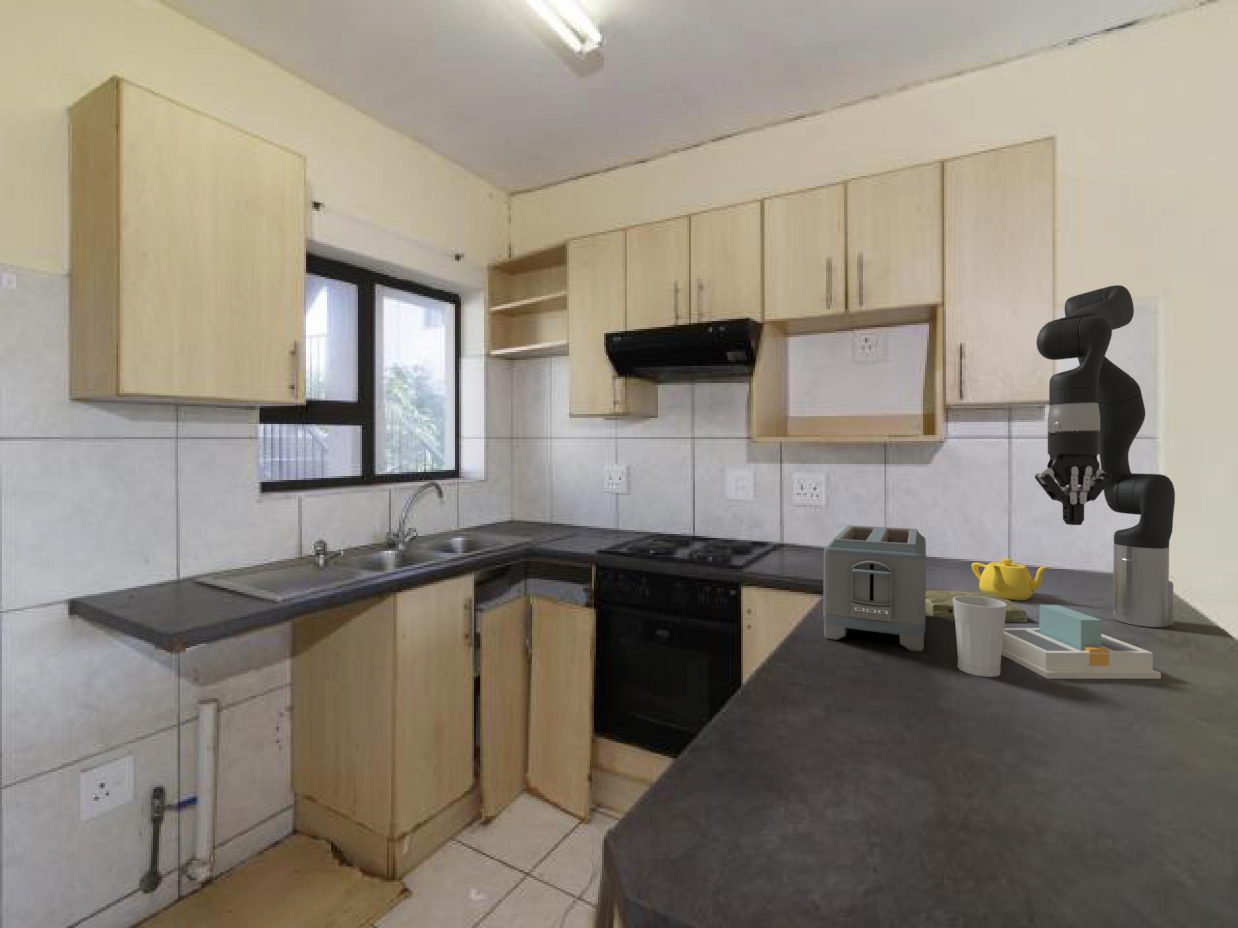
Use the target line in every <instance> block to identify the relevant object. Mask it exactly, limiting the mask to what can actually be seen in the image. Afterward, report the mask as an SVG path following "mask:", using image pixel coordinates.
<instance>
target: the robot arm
mask: <svg viewBox="0 0 1238 928" xmlns="http://www.w3.org/2000/svg"><path fill="white" fill-rule="evenodd" d="M1134 313H1135V308H1134V301H1133V297H1132V295H1131V292H1130V290H1128V288H1127V287H1125V286H1123V285H1121V284H1120V285H1118V284H1116V285H1109V286H1106V287H1103V288H1097V289H1093V290H1090V291H1087V292H1083V293H1080V294H1077V295H1073V296H1071V297H1068V298H1067V299H1066V301H1065V302H1064V316H1065V317H1061V318H1056V319H1054V320H1053V319H1052V320H1051V321H1049V322H1047V323H1046V324H1044V325H1043V326H1042V328H1041V329H1040V330H1039V332H1038V334H1037V336H1036V349H1037V351H1038V352H1039V354H1040V355H1041V356H1042V357H1043V358H1044V359H1047V360H1051V361H1058V360H1068V359H1069V360H1070V359H1077V360H1078V364H1079V365H1078V366H1077V367H1075V368H1072V369H1069V370H1065V371H1061V372H1058V373H1054V374H1053V375H1051V377H1050V379H1049V387H1048V389H1049V391H1048V393H1049V396H1048V397H1049V398H1048V399H1049V401H1048V402H1049V403H1048V405H1049V407H1048V413H1047V454H1048V456H1049V460H1048V462H1047V465H1046V467H1047V468H1046V469H1045V470H1044V471H1042V472H1041V473H1036V474H1035V475H1034V479H1035V480H1036V482H1037V483H1038V484H1039V485H1040V487H1042V489H1043V490H1044V491H1045V493H1046V494H1047V495H1048V497H1049V498H1050V499H1051V500H1052V501H1057V502H1059V503H1061V504H1062V520H1063V522H1064V524H1066V525H1069V526H1082V524H1083V522H1084V520H1085V504H1087V503H1088V502H1090V501H1092V502H1093V501H1094V502H1095V500H1096V499H1097V498H1098V497H1099V496H1100V495H1101V493H1102V492H1103V495H1104V499H1105V501H1106V504H1107V506H1108V507H1109V508H1110V509H1111V511H1113V512H1115V513H1119V514H1128V515H1129V514H1130V515H1139V516H1140V517H1139V521H1138V523H1137V524H1135V525H1134V526H1131V527H1128V528H1122V529H1117V530H1116V531H1115V532H1114V533H1113V569H1112V570H1113V578H1112V579H1113V581H1112V583H1113V586H1112V587H1113V590H1112V618H1113V619H1114V620H1115V621H1118V622H1121V623H1124V624H1129V625H1134V626H1139V627H1140V626H1141V627H1149V628H1166V627H1168V626H1173V625H1174V621H1173V620H1174V619H1173V618H1174V614H1173V613H1174V583H1173V581H1171V580H1170V578H1169V577H1170V576H1169V575H1170V540H1171V536H1172V533H1173V528H1174V524H1173V523H1174V512H1175V504H1176V503H1175V502H1176V501H1175V500H1176V493H1175V492H1176V491H1175V487H1174V484H1173V482H1172V480H1171V479H1170V477H1168V476H1167V475H1164V474H1161V473H1160V474H1159V473H1133V472H1132V471H1131V468H1130V462H1129V454H1130V453H1129V452H1130V449H1131V447H1132V444H1133V442H1134V440H1135V438H1136V437H1137V435H1138V433H1139V432H1140V430H1141V429H1142V426H1143V425H1144V422H1145V418H1146V408H1145V407H1146V406H1145V403H1144V397H1143V394H1142V390H1141V386H1140V384H1138V382H1137V381H1136V380H1135V379H1134V378H1133V377H1132V376H1131V375H1129V374H1128V373H1127V372H1126V371H1125V370H1123V369H1121V367H1119V366H1118V365H1116V364H1115V363H1113V361H1111V360H1110V359H1109V358H1108V357H1107V356H1106V354H1107V351H1108V350H1109V346H1110V342H1111V339H1112V336H1113V330H1117V329H1120V328H1123V327H1126V326H1127V325H1129V324H1130V323H1131V321H1132V319H1133V318H1134V315H1135V314H1134ZM1098 456H1099V460H1100V461H1099V460H1098Z"/></svg>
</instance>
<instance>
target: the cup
mask: <svg viewBox="0 0 1238 928" xmlns="http://www.w3.org/2000/svg"><path fill="white" fill-rule="evenodd" d="M953 606H954V617H955V618H954V623H955V638H956V649H957V668H958V670H960V671H962V672H964V673H967V674H970V675H973V676H979V677H987V678H988V677H989V678H993V677H998V676H1000V675H1001V665H1002V664H1001V662H1002V655H1001V654H1002V644H1003V634H1004V628H1005V625H1006V624H1005V623H1006V621H1005V616H1006V607H1007V604H1006V603H1004V602H1002V601H999V600H996V599H991V598H986V597H978V596H957V597H954V598H953Z"/></svg>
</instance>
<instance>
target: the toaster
mask: <svg viewBox="0 0 1238 928" xmlns="http://www.w3.org/2000/svg"><path fill="white" fill-rule="evenodd" d="M926 547H927V541H926V538H925V537H924V536H923V535H922V534H921V533H920V532H919V530H918V529H917V528H909V527H908V528H906V527H885V526H869V525H868V526H867V525H851V524H849V525H847V526H845V528H844V529H843V530H841V531H840V532H839V533H838V534H837V535H836V536H835V537H833V539H832V541H831V542H830V543H829V544H827V545H826V546H825V547H824V548H823V549H824V550H823V611H822V612H823V613H822V614H823V616H822V618H823V621H824V622H823V636H824V638H825V639H827V640H834V641H838V640H840V639H842V638H845V637H846V635H847V633H848V631H849V629H850V630H851V629H852V630H857V631H867V632H871V633H872V632H873V633H874V632H875V633H881V634H888V635H896V636H899V644H900V645H901V646H903V647H904V648H906V649H907V651H911V652H912V651H913V652H923V650H924V648H925V646H924V645H925V639H924V638H925V633H926V612H925V600H926V591H927V590H926V586H927V585H926V583H927V581H926V580H927V579H926V578H927V577H926V573H927V571H926V570H927V569H926V568H927V565H926V564H927V551H926V550H927V548H926Z"/></svg>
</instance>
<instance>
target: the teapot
mask: <svg viewBox="0 0 1238 928" xmlns="http://www.w3.org/2000/svg"><path fill="white" fill-rule="evenodd" d="M1000 561H1001V562H1000ZM1000 561H993V562H992V561H991V562H989V563H988V564H985V563H981V562H976V561H975V562H972V563H971V566H970V567H971V569H972V572H973V573H974V575H975V576H976V578H978V580H979V583H978V584H979V585H978V586H979V587H978V588H979V589H980V593H991V594H993V595H998V596H1000V597H1001V598H1002V599H1006V600H1010V601H1026V600H1029V599H1031V597H1033V595H1034V593H1035V591H1037V590H1039V589H1040V587H1042V584H1043V576H1044V574H1045V571H1046V570H1047V569H1049V568H1051V566H1040V567H1039V568H1037V571H1036V574H1035V577H1034V579H1033V577H1032V574H1031V572H1030V570H1029V569H1028V567H1027V566H1026V565H1024V564H1019V563H1018V562H1013V559H1011V558H1001V559H1000ZM979 567H982V568H984V569H983V571H982V573H981V572H980V570H979Z"/></svg>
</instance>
